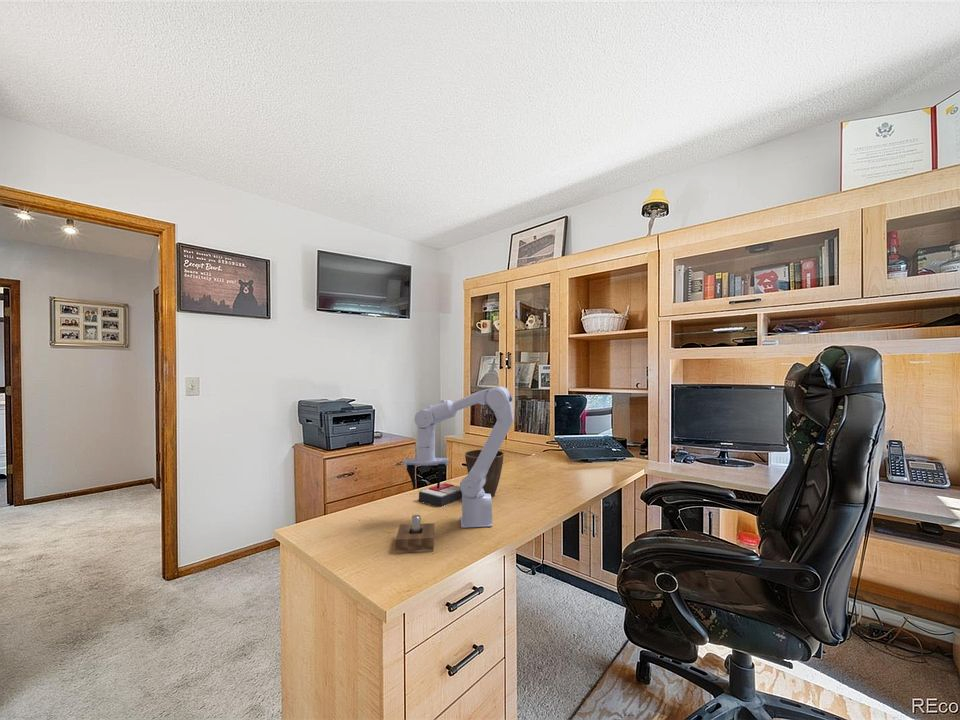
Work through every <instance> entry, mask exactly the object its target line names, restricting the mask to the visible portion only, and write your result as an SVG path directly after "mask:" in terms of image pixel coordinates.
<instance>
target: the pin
mask: <svg viewBox="0 0 960 720" xmlns="http://www.w3.org/2000/svg"><path fill="white" fill-rule="evenodd" d="M411 524H412V534H420V524H421V515H419V514H413V515H412V516H411Z"/></svg>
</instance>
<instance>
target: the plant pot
mask: <svg viewBox="0 0 960 720" xmlns="http://www.w3.org/2000/svg"><path fill="white" fill-rule="evenodd" d="M481 451H482V449H474V450H470V451H469V450H468V451H466V452H465V453H464V457H465V464H466V465H465V466H466V469H467V475H468V474H469V472H470V470H471V469H472V467H473V466H474V464H475V462H476V460H477V458H478V456H479V455H480V453H481ZM504 455H505V454H504V452H503V451H501V450H498V452H497V454H496V456H495V458H494V460H493V462H492V464H491V466H490V468H489V470H488V473H487V475H486V483H485V485H484V486H483V489H484V492H485V493H486V494H491V498H493V497H495V496H496V492H497V489H498V485H499V483H500V479H501V474H502V469H503V462H504Z"/></svg>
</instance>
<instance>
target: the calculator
mask: <svg viewBox="0 0 960 720" xmlns="http://www.w3.org/2000/svg"><path fill="white" fill-rule="evenodd" d="M460 499H461V500H462V492H461V490H460V485H454V484H451V483H447V482H445V483H440V485H439V488H437V485H435V486H431V487H428V488H427V489H423V490H420V491H419V492H418V502H420V503H423V502H424V503H423V504H426V503H427V504H426V505H430V504H431V505H430V506H433V507H437V506H438V508H443V507H444V505H445V506H448V505H449V504H450V503H453V502H455V501H458V500H460ZM442 506H443V507H442Z"/></svg>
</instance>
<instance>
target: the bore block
mask: <svg viewBox="0 0 960 720" xmlns="http://www.w3.org/2000/svg"><path fill="white" fill-rule="evenodd" d="M397 529H398V530H397V532H396V537H395V540H394V541H395V543H394V544H395V550H394V551H395V553H396V554H401V553H403V554H404V553H421V552H424V553H425V552H434V548H435V546H434V545H435V537H436V536H435V534H436V533H435V529H436V527H435V522H430V523H420V534H412V523H405V524H399V527H398V528H397Z"/></svg>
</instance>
